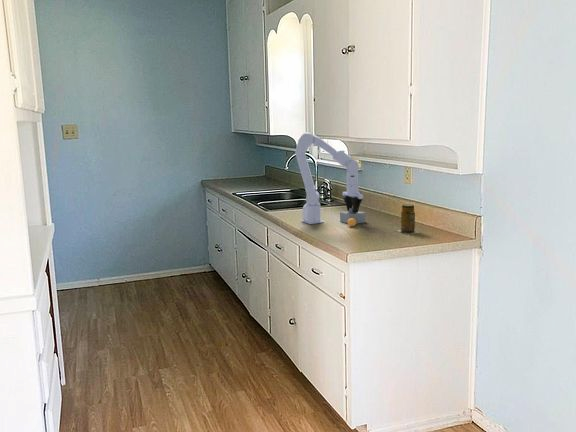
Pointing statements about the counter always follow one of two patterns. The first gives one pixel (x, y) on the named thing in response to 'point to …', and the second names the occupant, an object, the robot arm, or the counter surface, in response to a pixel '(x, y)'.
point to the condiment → (408, 219)
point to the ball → (351, 222)
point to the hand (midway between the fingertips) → (352, 211)
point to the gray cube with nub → (352, 216)
